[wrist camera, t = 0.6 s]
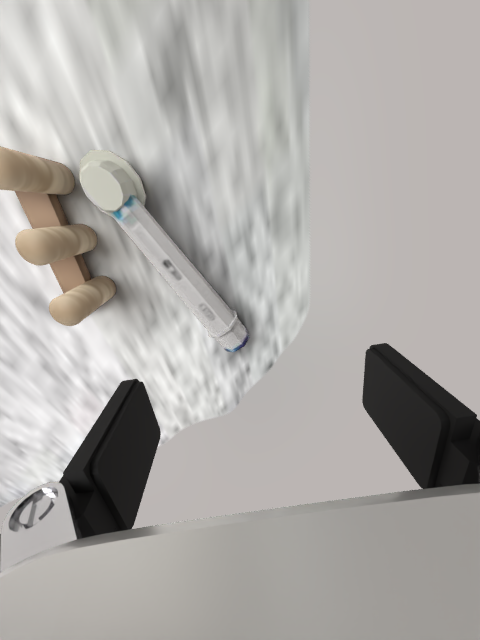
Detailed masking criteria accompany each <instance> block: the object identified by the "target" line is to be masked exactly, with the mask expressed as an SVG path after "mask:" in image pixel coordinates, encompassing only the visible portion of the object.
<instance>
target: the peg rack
mask: <svg viewBox="0 0 480 640" xmlns="http://www.w3.org/2000/svg"><path fill="white" fill-rule="evenodd" d="M74 186H75V180H74V176H73V174H72V172H71V171H70V170H69V169H68V168H67V167H66V166H65V165H63V164H61V163H58V162H54V161H51V160H47V159H44V158H40V157H36V156H33V155H29V154H26V153H22V152H18V151H15V150H11V149H8V148H4V147H0V189H1V190H12V191H15V193H16V195H17V197H18V199H19V201H20V203H21V205H22V207H23V209H24V212H25V214H26V216H27V218H28V220H29V222H30V224H31V226H32V228H33V229H26V230H23V231H21V232H19V233H18V235H17V237H16V240H15V244H16V248H17V250H18V252H19V254H20V255H21V256H22V257H23V258H24V259H25V260H26V261H28V262H29V263H31V264H34V265H46V264H50V266H51V268H52V270H53V272H54V274H55V276H56V278H57V280H58V282H59V285H60V287H61V289H62V291H63V293H64V294H62V295H60V296H58V297H56V298H55V299H53V300H52V301H51V302H50V305H49V311H50V314H51V315H52V317H53V318H54V319H55V320H56V321H57V322H59V323H61V324H63V325H67V326H73V325H76V324H78V323H80V322H81V321H82V320H83V319H85V318H86V317H87V316H89V315H90V314H91V313H92V312H94V311H95V310H96V309H98V308H99V307H100V306H101V305H103V304H104V303H105V302H107V301H108V300H109V299H110V298H112V297H113V296H114V295H115V293H116V286H115V284H114V282H113V281H112V280H111V279H110V278H108V277H106V276H97V277H95V278H93V279H91V276H90V274H89V272H88V269H87V267H86V264H85V262H84V260H83V257H82V255H81V254H82V253H85V252H88V251H91V250H93V249H94V248H95V247H96V245H97V237H96V234H95V232H94V231H93V230H92V229H91V228H90V227H88V226H86V225H84V224H75V225H69V224H68V221H67V219H66V217H65V214H64V212H63V210H62V207H61V205H60V202H59V200H58V198H57V195H56V194H58V195H67V194H69V193H71V192H72V191H73V189H74Z"/></svg>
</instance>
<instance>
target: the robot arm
mask: <svg viewBox="0 0 480 640" xmlns="http://www.w3.org/2000/svg"><path fill="white" fill-rule="evenodd" d="M363 406H364V408H365V410H366V411H367V413H368V414H369V416H370V417H371V418H372V420H373V421H374V423H375V424H376V425H377V427H378V428H379V430H380V431H381V432H382V434H383V435H384V437H385V438H386V439H387V441H388V442H389V444H390V445H391V446H392V448H393V449H394V450H395V452H396V454H397V455H398V456H399V457H400V459H401V460H402V462H403V463H404V465H405V466H406V467H407V469H408V470H409V472H410V473H411V475H412V476H413V477H414V479H415V480H416V482H417V483H418V484H419V486H420V487H421V488H423V489H419V490H412V491H411V490H410V491H403V492H395V493H388V494H380V495H372V496H366V497H358V498H349V499H342V500H335V501H327V502H320V503H312V504H305V505H297V506H290V507H283V508H275V509H269V510H261V511H254V512H247V513H239V514H232V515H225V516H218V517H211V518H204V519H197V520H191V521H184V522H176V523H170V524H162V525H155V526H149V527H143V528H137V529H132V527H133V525H134V522H135V519H136V516H137V512H138V509H139V506H140V502H141V499H142V496H143V492H144V489H145V486H146V483H147V479H148V476H149V473H150V469H151V466H152V463H153V459H154V456H155V453H156V450H157V446H158V443H159V440H160V428H159V425H158V422H157V420H156V417H155V414H154V411H153V408H152V406H151V403H150V400H149V397H148V394H147V392H146V389H145V386H144V384H143V382H139V380H138V379H133V380H126V381H122V382H121V383H120V385H119V386H118V388H117V389H116V391H115V393H114V394H113V396H112V397H111V399H110V400H109V402H108V404H107V405H106V407H105V408H104V410H103V411H102V413H101V415H100V416H99V418H98V419H97V421H96V422H95V424H94V425H93V427H92V429H91V430H90V432H89V433H88V435H87V436H86V438H85V440H84V441H83V443H82V444H81V446H80V447H79V449H78V450H77V452H76V454H75V455H74V457H73V458H72V460H71V461H70V463H69V465H68V466H67V468H66V469H65V471H64V472H63V474H64V475H63V477H62V478H61V480H60V481H59V482H49V483H46V484H43V485H40V486H39V487H37V488H35V489H33V490H31V491H30V492H29V493H27V494H26V495H24V496H23V497H22V498H21V499H20V500H19V501H18V502H17V503H16V504H15V505H14V506H13V507H12V508H11V510H10V511H9V512H8V513H7V515H6V517H5V519H4V521H3V523H2V528H1V534H0V640H480V421H479V420H478V419H477V418H476V417H477V415H476V414H475V413H474V412H473V411H471V410H470V409H469V408H468V407H466V406H465V405H464V404H463V403H461V402H460V401H459V400H458V399H456V398H455V397H454V396H453V395H451V394H450V393H449V392H448V391H446V390H445V389H444V388H442V387H441V386H440V385H439V384H438V383H436V382H435V381H434V380H433V379H431V378H430V377H429V376H428V375H426V374H425V373H424V372H423V371H421V370H420V369H419V368H417V367H416V366H415V365H414V364H412V363H411V362H410V361H409V360H407V359H406V358H405V357H404V356H402V355H401V354H400V353H399V352H397V351H396V350H395V349H394V348H392V347H391V346H390V345H388V344H387V343H384V344H377V345H371V346H370V349H368V350H367V351H366V358H365V372H364V386H363Z"/></svg>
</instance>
